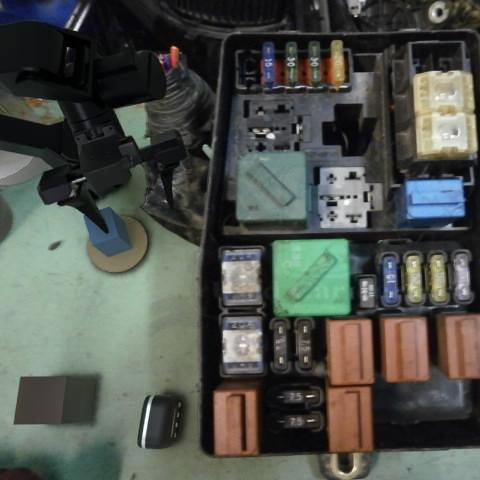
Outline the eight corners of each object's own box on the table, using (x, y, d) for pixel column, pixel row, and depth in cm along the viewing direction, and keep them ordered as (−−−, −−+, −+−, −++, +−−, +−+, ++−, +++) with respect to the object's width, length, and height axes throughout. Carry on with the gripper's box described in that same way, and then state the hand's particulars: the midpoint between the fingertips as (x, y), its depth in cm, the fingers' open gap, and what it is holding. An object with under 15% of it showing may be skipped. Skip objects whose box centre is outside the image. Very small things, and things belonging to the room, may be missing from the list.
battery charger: (182, 445, 79) (164, 452, 68) (156, 443, 79) (134, 450, 68) (189, 396, 81) (173, 395, 70) (164, 393, 81) (143, 393, 70)
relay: (108, 257, 86) (91, 245, 79) (99, 229, 87) (82, 215, 80) (132, 248, 86) (118, 236, 79) (123, 220, 87) (109, 206, 81)
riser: (50, 421, 80) (13, 424, 69) (56, 379, 81) (20, 376, 71) (92, 420, 80) (60, 424, 69) (96, 378, 82) (66, 376, 71)
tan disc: (79, 238, 88) (76, 236, 86) (130, 207, 89) (128, 204, 88) (108, 285, 86) (105, 283, 84) (159, 252, 87) (158, 250, 86)
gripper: (0, 158, 59) (67, 273, 67) (166, 105, 61) (212, 221, 69) (18, 131, 68) (75, 234, 76) (162, 86, 71) (202, 190, 79)
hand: (140, 221), depth 75 cm, fingers open, 9 cm apart
